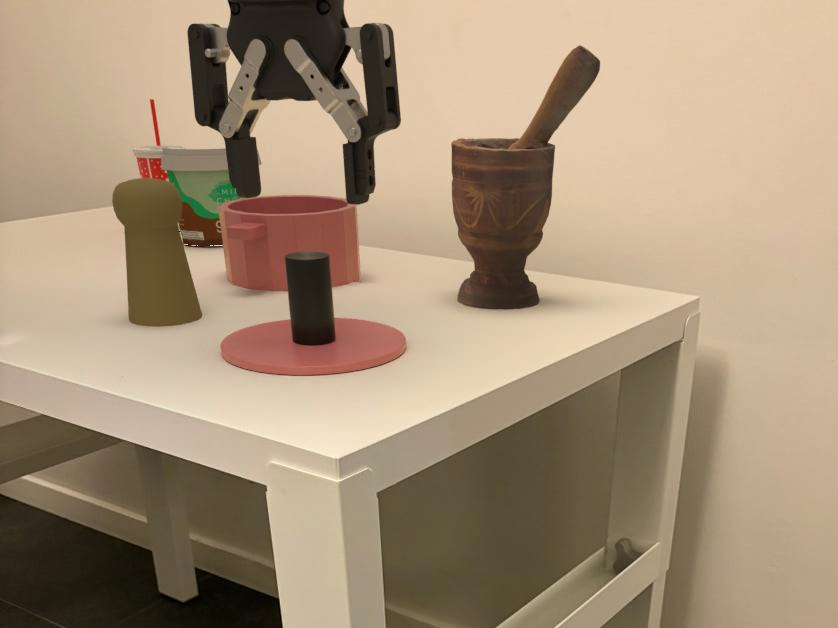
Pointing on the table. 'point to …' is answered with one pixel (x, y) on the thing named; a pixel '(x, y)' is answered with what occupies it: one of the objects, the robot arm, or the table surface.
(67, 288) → the table surface
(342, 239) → the pot
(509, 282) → the mortar and pestle
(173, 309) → the cork
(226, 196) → the food container
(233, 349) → the lid
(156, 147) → the beverage cup
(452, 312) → the table surface
